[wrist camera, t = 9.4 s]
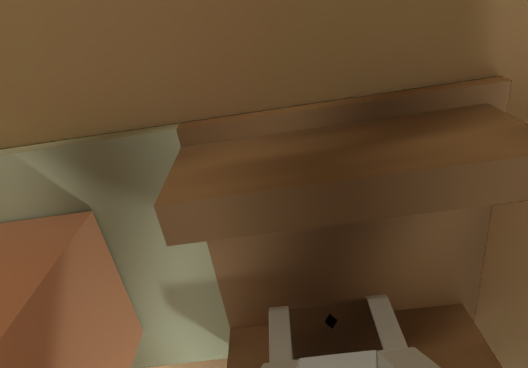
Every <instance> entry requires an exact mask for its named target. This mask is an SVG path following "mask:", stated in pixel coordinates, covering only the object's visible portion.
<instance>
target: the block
mask: <svg viewBox="0 0 528 368" xmlns="http://www.w3.org/2000/svg"><path fill="white" fill-rule="evenodd" d="M142 334H143V329H142V327H141V324H140V322H139V320H138V317H137V315H136V313H135V310H134V308H133V306H132V303H131V301H130V299H129V296H128V294H127V292H126V289H125V287H124V285H123V282H122V280H121V277H120V275H119V273H118V270H117V268H116V266H115V263H114V261H113V259H112V256H111V254H110V252H109V249H108V247H107V245H106V242H105V240H104V237H103V235H102V233H101V230H100V228H99V226H98V223H97V221H96V219H95V216H94V214H93V212H92V211H87V212H80V213H73V214H65V215H58V216H50V217H43V218H35V219H28V220H21V221H13V222H6V223H0V368H131V367H132V364H133V361H134V358H135V355H136V352H137V349H138V346H139V343H140V340H141V337H142Z"/></svg>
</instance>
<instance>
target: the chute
mask: <svg viewBox="0 0 528 368" xmlns="http://www.w3.org/2000/svg"><path fill="white" fill-rule="evenodd" d="M511 82H512V81H511V80H509V79H506V78H504V77H501V76H498V77H491V78H485V79H478V80H471V81H464V82H457V83H450V84H444V85H437V86H430V87H423V88H416V89H410V90H403V91H396V92H389V93H382V94H376V95H369V96H362V97H355V98H348V99H342V100H335V101H328V102H321V103H314V104H308V105H301V106H294V107H287V108H280V109H273V110H267V111H260V112H253V113H246V114H239V115H233V116H226V117H219V118H212V119H205V120H199V121H192V122H185V123H178V124H171V125H165V126H158V127H151V128H144V129H137V130H131V131H124V132H117V133H110V134H103V135H97V136H90V137H83V138H76V139H69V140H62V141H56V142H49V143H42V144H35V145H28V146H22V147H15V148H8V149H1V150H0V223H6V222H13V221H21V220H28V219H35V218H43V217H50V216H58V215H65V214H73V213H80V212H87V211H92V212H93V214H94V216H95V219H96V221H97V223H98V226H99V228H100V230H101V233H102V235H103V237H104V240H105V242H106V245H107V247H108V249H109V252H110V254H111V256H112V259H113V261H114V263H115V266H116V268H117V270H118V273H119V275H120V277H121V280H122V282H123V285H124V287H125V289H126V292H127V294H128V296H129V299H130V301H131V303H132V306H133V308H134V310H135V313H136V315H137V317H138V320H139V322H140V324H141V327H142V329H143V334H142V337H141V340H140V343H139V346H138V349H137V352H136V355H135V358H134V361H133V364H132V367H131V368H144V367H154V366H163V365H172V364H181V363H191V362H200V361H209V360H218V359H228V362H227V368H261V366H262V365H263V363H269V308H270V307H280V306H289V305H297V304H308V303H319V302H327V301H334V300H342V299H349V298H357V297H366V296H373V295H381V294H385V295H386V296H387V297H388V299H389V301H390V304H391V306H392V309H393V311H394V314H395V316H396V319H397V321H398V324H399V326H400V329H401V331H402V334H403V336H404V339H405V341H406V344H407V346H408V348H409V347H415V348H416V349H418V350H419V351H420V352H421V353H423V354H424V355H425V356H427V357H428V358H429V359H430V360H432V361H433V362H434V363H436V364H437V365H438V366H439V367H441V368H502V367H501V365H500V363H499V362H498V360H497V359H496V357H495V355H494V354H493V352H492V351H491V349H490V347H489V346H488V344H487V342H486V341H485V339H484V338H483V336H482V334H481V333H480V331H479V330H478V328H477V326H476V325H475V323H474V319H475V312H476V306H477V299H478V293H479V287H480V280H481V274H482V267H483V261H484V255H485V248H486V242H487V235H488V229H489V223H490V216H491V210H492V205H496V204H504V203H512V202H520V201H528V125H527V124H525V123H523V122H521V121H520V120H518V119H516V118H514V117H512V116H511V115H509V114H507V107H508V101H509V95H510V88H511Z"/></svg>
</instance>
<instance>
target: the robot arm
mask: <svg viewBox="0 0 528 368" xmlns="http://www.w3.org/2000/svg"><path fill="white" fill-rule="evenodd" d="M261 368H441V367H439V366H438V365H437V364H436V363H434V362H433V361H432V360H430V359H429V358H428V357H427V356H425V355H424V354H423V353H421V352H420V351H419V350H418V349H416V348H415V347H409V348H408V346H407V344H406V341H405V339H404V336H403V334H402V331H401V329H400V326H399V324H398V321H397V319H396V316H395V314H394V311H393V309H392V306H391V304H390V301H389V299H388V297H387V296H386V295H385V294H381V295H373V296H366V297H357V298H349V299H342V300H334V301H327V302H319V303H308V304H297V305H289V306H280V307H270V308H269V363H263V365H262V366H261Z"/></svg>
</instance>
